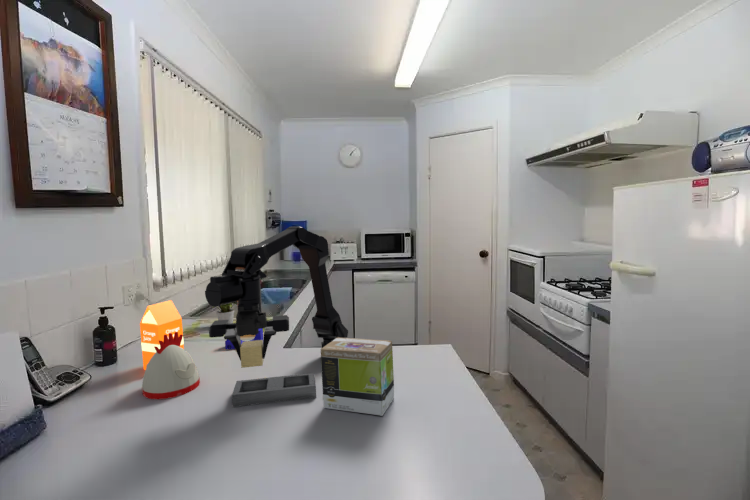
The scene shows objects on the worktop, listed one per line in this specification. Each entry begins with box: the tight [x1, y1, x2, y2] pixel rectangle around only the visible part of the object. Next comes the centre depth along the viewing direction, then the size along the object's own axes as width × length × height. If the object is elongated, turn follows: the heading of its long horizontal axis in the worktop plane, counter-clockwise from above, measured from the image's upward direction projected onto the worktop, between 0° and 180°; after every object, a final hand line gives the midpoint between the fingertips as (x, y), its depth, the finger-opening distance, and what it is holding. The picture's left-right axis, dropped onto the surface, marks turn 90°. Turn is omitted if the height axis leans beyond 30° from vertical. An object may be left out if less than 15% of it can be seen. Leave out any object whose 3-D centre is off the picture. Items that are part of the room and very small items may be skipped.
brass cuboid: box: [240, 339, 265, 368], centre depth 101 cm, size 5×5×5 cm
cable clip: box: [224, 328, 264, 350], centre depth 142 cm, size 12×4×6 cm, turn 90°
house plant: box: [212, 302, 237, 323], centre depth 170 cm, size 14×14×16 cm
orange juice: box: [139, 299, 185, 371], centre depth 125 cm, size 8×9×20 cm
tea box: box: [320, 337, 395, 417], centre depth 97 cm, size 15×10×15 cm, turn 71°
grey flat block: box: [231, 372, 317, 408], centre depth 103 cm, size 20×8×3 cm, turn 101°
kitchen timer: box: [141, 332, 201, 400], centre depth 109 cm, size 14×14×15 cm
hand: (252, 359), depth 102 cm, fingers closed on brass cuboid, 5 cm apart
